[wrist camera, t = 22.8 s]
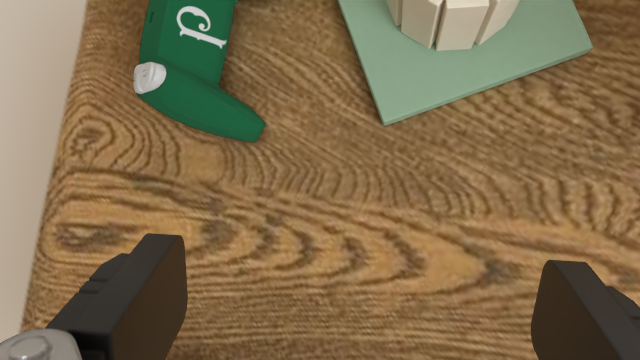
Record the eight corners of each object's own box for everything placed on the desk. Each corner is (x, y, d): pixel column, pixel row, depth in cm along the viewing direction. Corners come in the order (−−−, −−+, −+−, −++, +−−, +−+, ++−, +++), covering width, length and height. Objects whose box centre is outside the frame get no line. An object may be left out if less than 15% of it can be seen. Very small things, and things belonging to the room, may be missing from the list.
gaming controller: (263, -17, 29) (157, -69, 25) (302, -39, 26) (188, -101, 22) (231, 147, 28) (117, 117, 25) (268, 145, 25) (143, 110, 21)
